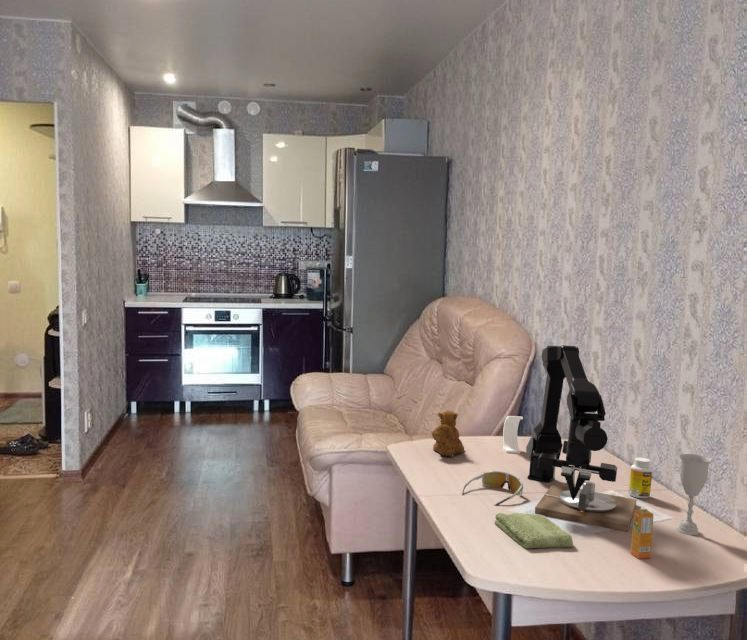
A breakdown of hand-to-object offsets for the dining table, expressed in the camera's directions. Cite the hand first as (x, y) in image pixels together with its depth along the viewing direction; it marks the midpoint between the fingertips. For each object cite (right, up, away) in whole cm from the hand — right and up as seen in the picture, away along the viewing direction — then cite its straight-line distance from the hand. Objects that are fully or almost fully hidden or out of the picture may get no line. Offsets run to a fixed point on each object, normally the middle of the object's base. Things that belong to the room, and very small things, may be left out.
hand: (573, 500), depth 186 cm
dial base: (+5, -4, +6) cm, 9 cm away
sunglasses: (-18, -2, +13) cm, 22 cm away
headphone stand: (-5, +2, +59) cm, 60 cm away
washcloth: (-13, -5, -14) cm, 20 cm away
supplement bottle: (+23, -4, +20) cm, 31 cm away
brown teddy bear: (-26, +2, +52) cm, 58 cm away
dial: (+5, -2, +4) cm, 7 cm away
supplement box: (+8, -7, -23) cm, 25 cm away
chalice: (+26, -6, -6) cm, 27 cm away
